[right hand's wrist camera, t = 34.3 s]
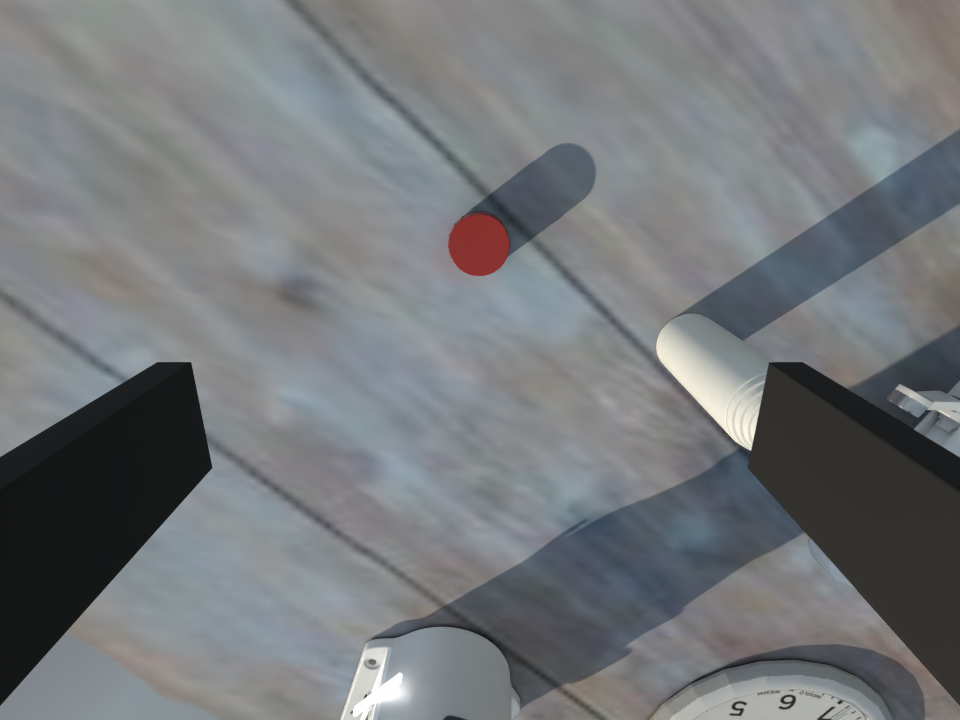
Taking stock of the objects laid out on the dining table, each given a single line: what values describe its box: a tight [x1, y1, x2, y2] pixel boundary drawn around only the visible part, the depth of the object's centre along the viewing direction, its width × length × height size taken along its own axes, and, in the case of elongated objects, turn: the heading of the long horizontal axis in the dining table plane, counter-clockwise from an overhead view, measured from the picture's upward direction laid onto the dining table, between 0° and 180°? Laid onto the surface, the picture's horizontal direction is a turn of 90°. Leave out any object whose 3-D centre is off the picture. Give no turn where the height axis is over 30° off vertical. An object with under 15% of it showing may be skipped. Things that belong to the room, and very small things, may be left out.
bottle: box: [656, 313, 774, 450], centre depth 36 cm, size 5×5×19 cm
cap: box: [448, 211, 510, 276], centre depth 41 cm, size 5×5×2 cm
